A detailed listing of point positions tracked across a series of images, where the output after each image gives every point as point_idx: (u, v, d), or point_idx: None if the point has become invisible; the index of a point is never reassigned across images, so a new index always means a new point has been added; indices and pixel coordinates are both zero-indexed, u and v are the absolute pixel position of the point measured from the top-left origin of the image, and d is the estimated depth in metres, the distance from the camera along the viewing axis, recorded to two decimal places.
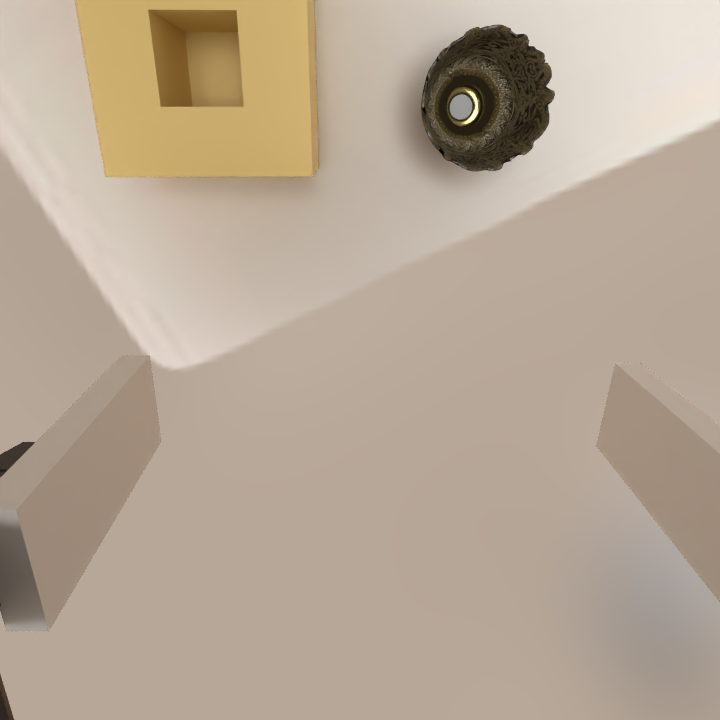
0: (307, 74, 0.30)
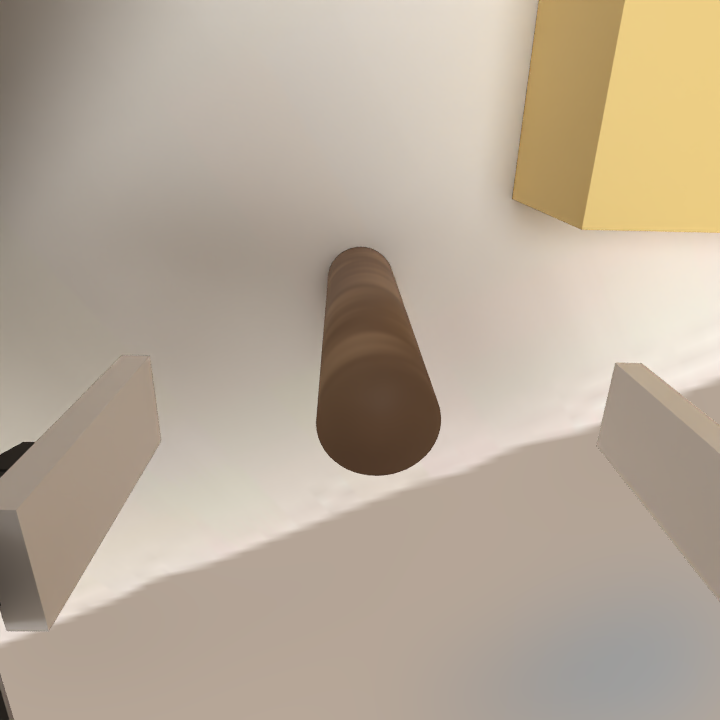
0: None
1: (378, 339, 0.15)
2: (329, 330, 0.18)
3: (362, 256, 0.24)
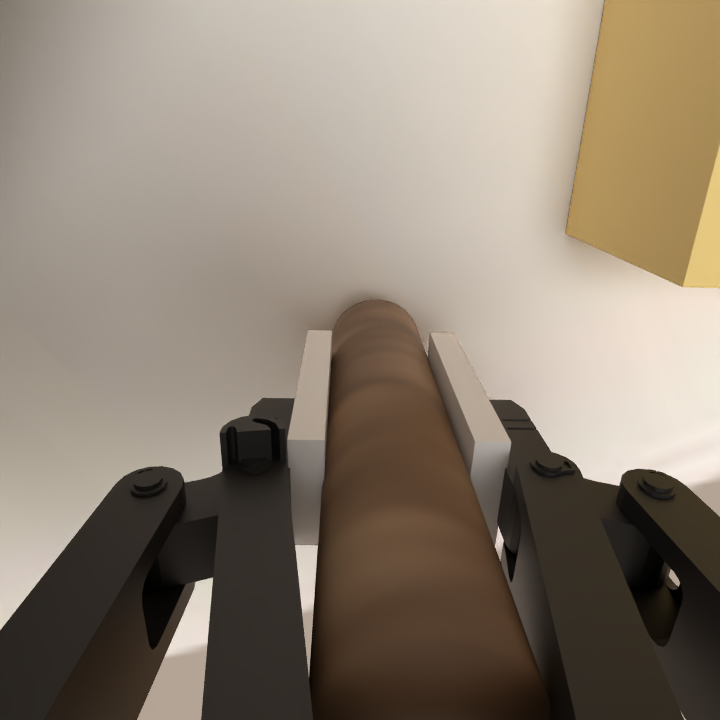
0: None
1: (423, 532, 0.08)
2: (333, 472, 0.11)
3: (379, 318, 0.17)
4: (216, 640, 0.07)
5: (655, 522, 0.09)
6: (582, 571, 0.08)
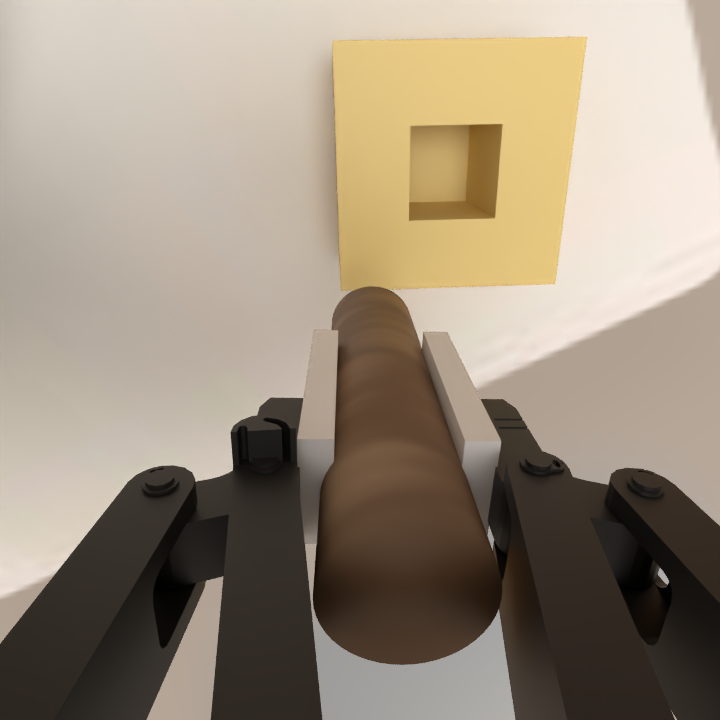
0: (475, 41, 0.25)
1: (405, 455, 0.10)
2: None
3: (375, 301, 0.20)
4: (226, 638, 0.07)
5: (644, 521, 0.09)
6: (572, 570, 0.08)
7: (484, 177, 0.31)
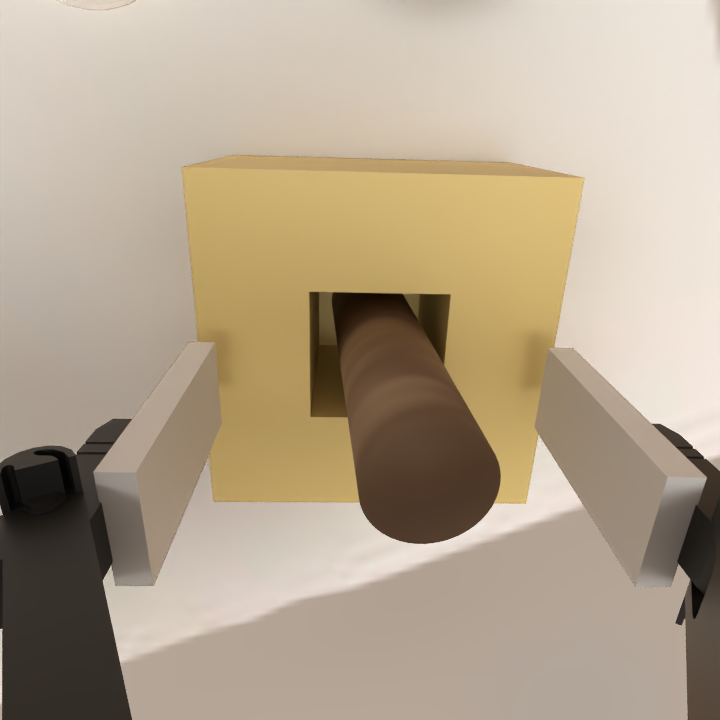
0: (408, 177, 0.16)
1: (421, 385, 0.13)
2: (354, 370, 0.16)
3: None
4: (13, 711, 0.06)
5: None
6: None
7: (431, 343, 0.21)
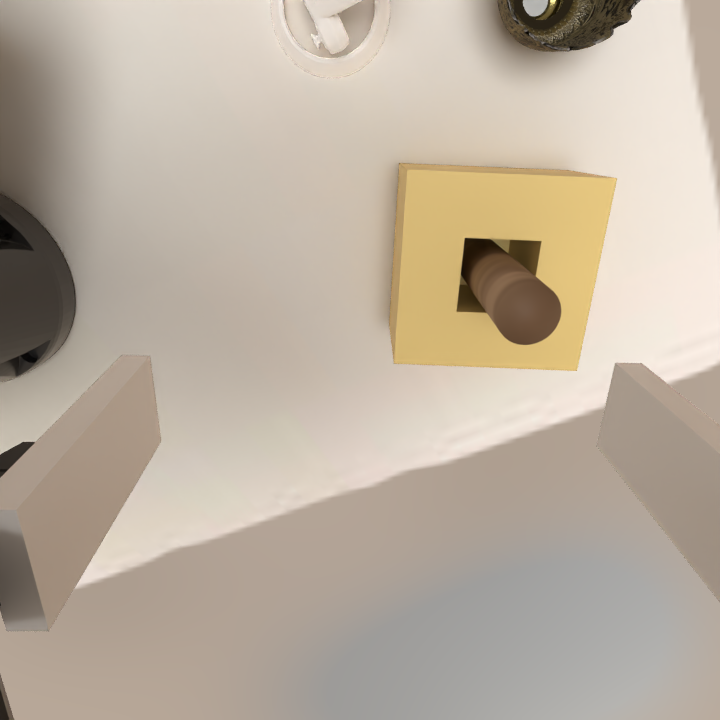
0: (524, 176, 0.31)
1: (524, 274, 0.28)
2: (484, 274, 0.31)
3: None
4: None
5: None
6: None
7: None
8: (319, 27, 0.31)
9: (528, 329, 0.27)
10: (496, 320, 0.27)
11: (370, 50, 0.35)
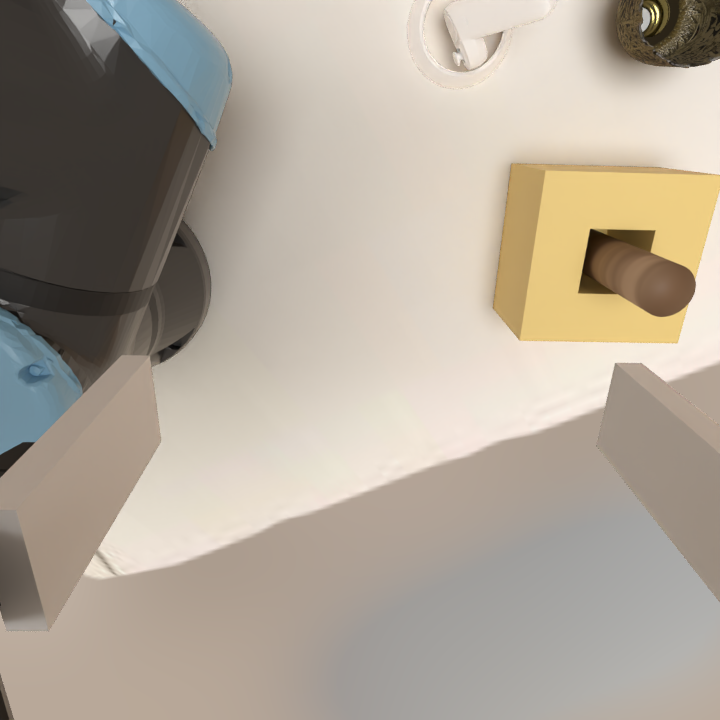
0: (645, 174, 0.36)
1: (658, 257, 0.33)
2: (613, 259, 0.36)
3: None
4: None
5: None
6: None
7: None
8: (465, 47, 0.36)
9: (666, 303, 0.32)
10: (640, 296, 0.32)
11: (495, 64, 0.40)
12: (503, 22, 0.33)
